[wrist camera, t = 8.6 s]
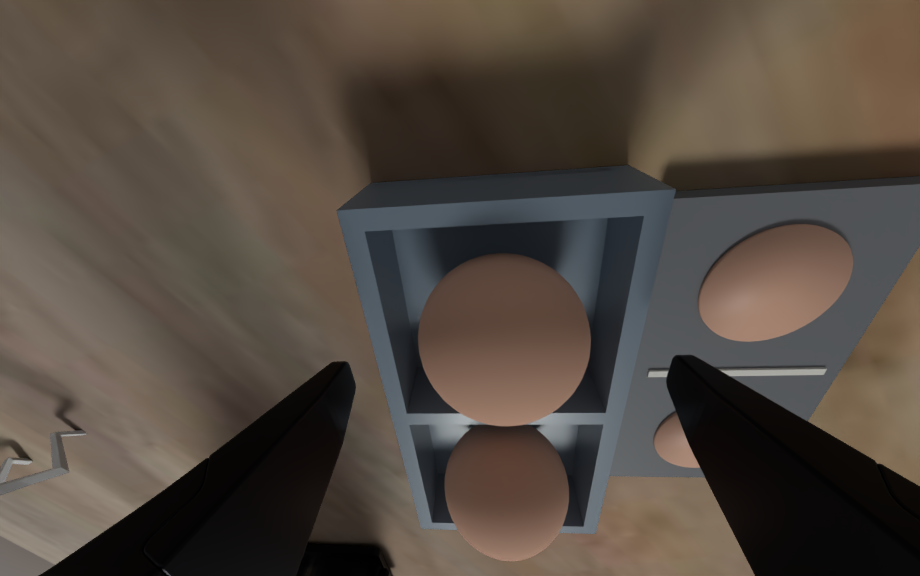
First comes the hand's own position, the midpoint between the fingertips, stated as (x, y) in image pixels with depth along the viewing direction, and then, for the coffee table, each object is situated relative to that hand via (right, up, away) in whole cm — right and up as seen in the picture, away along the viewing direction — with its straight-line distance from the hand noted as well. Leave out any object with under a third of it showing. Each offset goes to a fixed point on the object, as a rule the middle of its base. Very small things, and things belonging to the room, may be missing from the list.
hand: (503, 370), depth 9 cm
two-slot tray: (+1, -1, +6) cm, 6 cm away
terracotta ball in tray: (+1, -6, +5) cm, 8 cm away
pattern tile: (+10, -1, +5) cm, 11 cm away
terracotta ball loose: (0, +1, +1) cm, 1 cm away
